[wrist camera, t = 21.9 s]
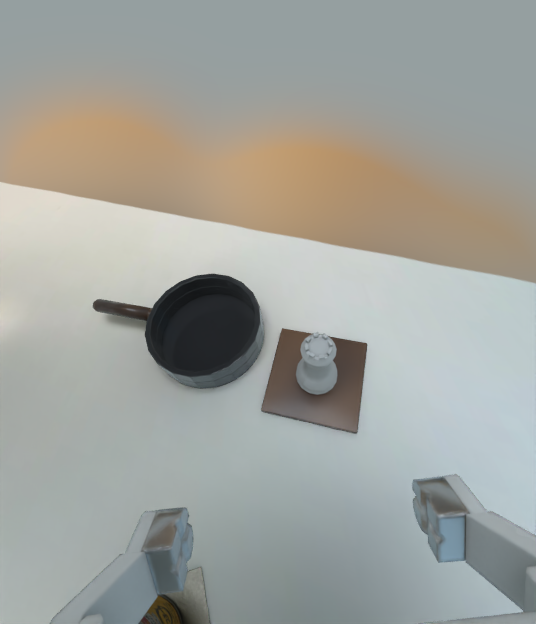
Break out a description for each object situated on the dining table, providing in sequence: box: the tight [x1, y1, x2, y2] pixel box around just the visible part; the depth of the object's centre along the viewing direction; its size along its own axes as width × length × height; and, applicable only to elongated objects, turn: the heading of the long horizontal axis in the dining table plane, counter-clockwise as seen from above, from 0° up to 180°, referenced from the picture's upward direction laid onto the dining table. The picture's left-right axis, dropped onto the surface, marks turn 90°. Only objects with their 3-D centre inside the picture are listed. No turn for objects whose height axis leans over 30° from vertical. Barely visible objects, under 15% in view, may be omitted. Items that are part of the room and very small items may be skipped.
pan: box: [145, 274, 264, 388], centre depth 39 cm, size 13×13×4 cm
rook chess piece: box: [296, 333, 337, 395], centre depth 33 cm, size 4×4×8 cm
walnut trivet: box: [261, 328, 367, 433], centre depth 36 cm, size 10×10×1 cm
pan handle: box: [93, 299, 152, 321], centre depth 40 cm, size 9×2×2 cm, turn 76°
